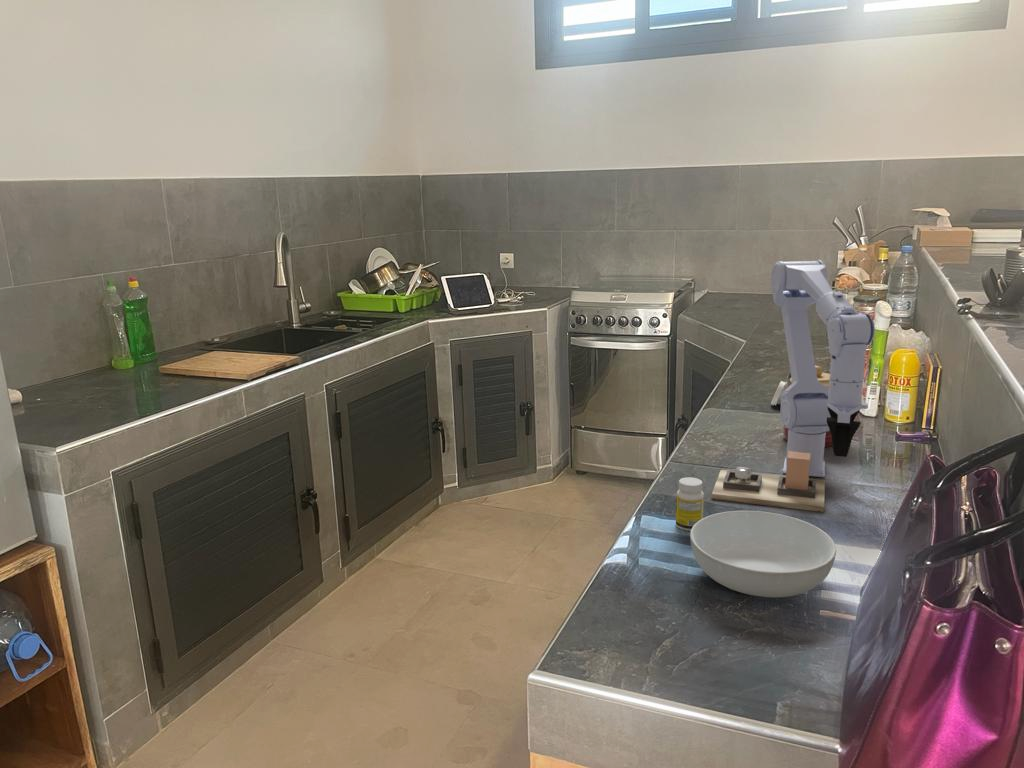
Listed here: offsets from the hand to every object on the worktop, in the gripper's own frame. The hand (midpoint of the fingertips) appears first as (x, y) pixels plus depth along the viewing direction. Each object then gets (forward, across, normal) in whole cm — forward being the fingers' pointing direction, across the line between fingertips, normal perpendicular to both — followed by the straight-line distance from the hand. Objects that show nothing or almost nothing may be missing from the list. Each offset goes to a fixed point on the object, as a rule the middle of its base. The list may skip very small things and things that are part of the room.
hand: (840, 449), depth 147 cm
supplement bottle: (+10, -23, +24) cm, 34 cm away
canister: (+10, +35, +6) cm, 37 cm away
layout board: (+9, -2, +12) cm, 15 cm away
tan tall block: (+8, -2, +7) cm, 11 cm away
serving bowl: (+10, -39, +10) cm, 41 cm away
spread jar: (+10, +62, +11) cm, 64 cm away
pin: (+9, -2, +17) cm, 20 cm away
